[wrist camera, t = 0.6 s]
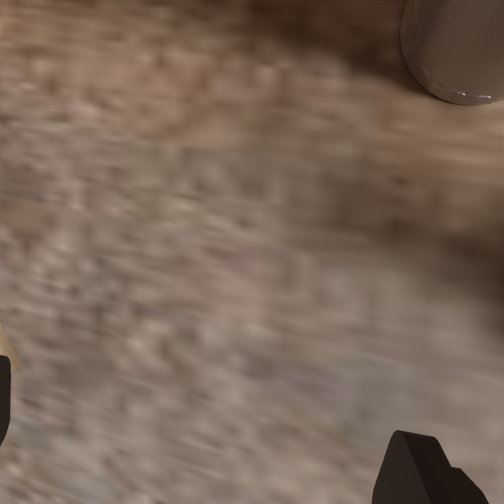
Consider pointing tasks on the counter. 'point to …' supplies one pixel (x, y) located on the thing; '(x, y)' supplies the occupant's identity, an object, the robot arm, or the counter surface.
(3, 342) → the maple peg
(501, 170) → the counter surface
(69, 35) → the counter surface
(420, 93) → the counter surface
